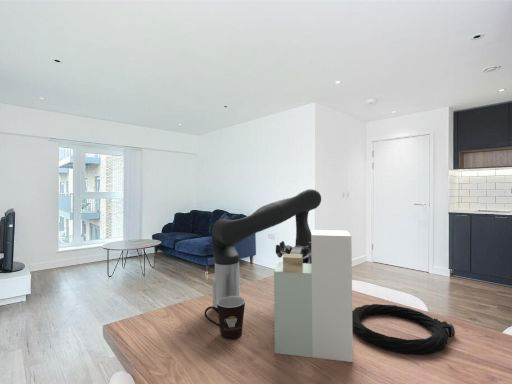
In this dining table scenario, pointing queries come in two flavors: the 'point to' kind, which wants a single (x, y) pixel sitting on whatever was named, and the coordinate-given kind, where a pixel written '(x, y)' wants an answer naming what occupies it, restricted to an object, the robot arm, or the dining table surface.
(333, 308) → the riser
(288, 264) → the block
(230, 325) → the coffee mug
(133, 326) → the dining table surface
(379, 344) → the cable lock
